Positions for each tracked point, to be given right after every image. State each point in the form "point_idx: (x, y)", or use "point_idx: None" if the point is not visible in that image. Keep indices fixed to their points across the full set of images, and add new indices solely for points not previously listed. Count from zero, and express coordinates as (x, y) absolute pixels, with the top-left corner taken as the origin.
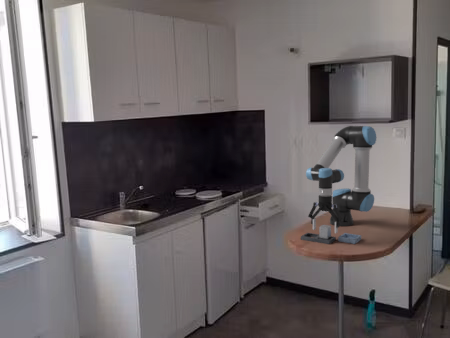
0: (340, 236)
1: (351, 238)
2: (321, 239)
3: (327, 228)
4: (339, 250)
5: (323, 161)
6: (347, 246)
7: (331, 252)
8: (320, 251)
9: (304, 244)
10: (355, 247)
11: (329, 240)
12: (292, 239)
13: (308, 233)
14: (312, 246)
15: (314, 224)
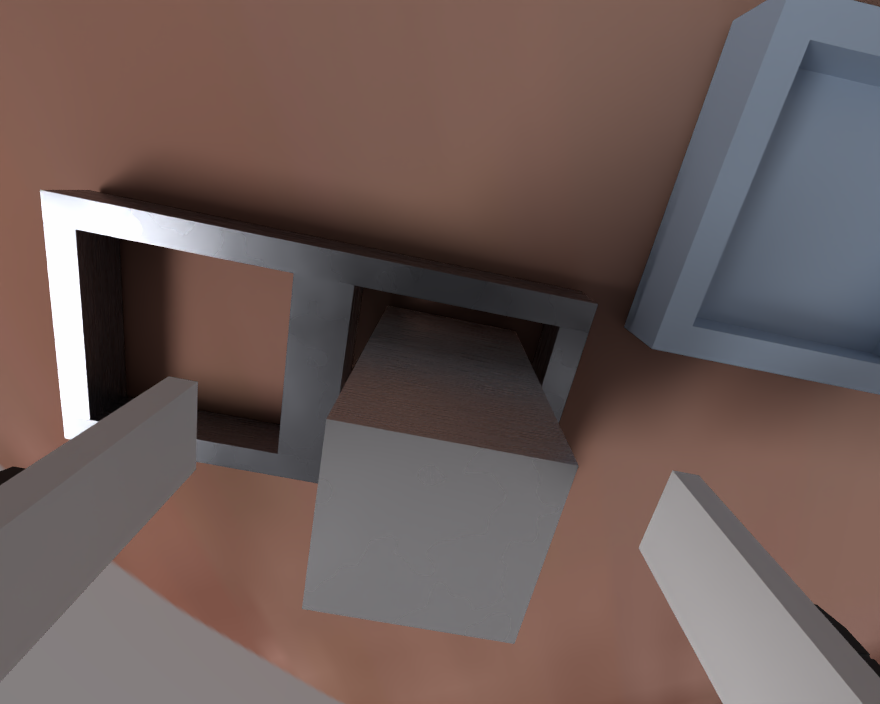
0: (691, 299)
1: (861, 150)
2: None
3: (512, 627)
4: (655, 623)
5: None
6: (750, 481)
7: (579, 687)
8: (470, 689)
9: (238, 555)
10: (850, 488)
11: None
12: (2, 425)
13: (82, 230)
14: None
15: (114, 522)
